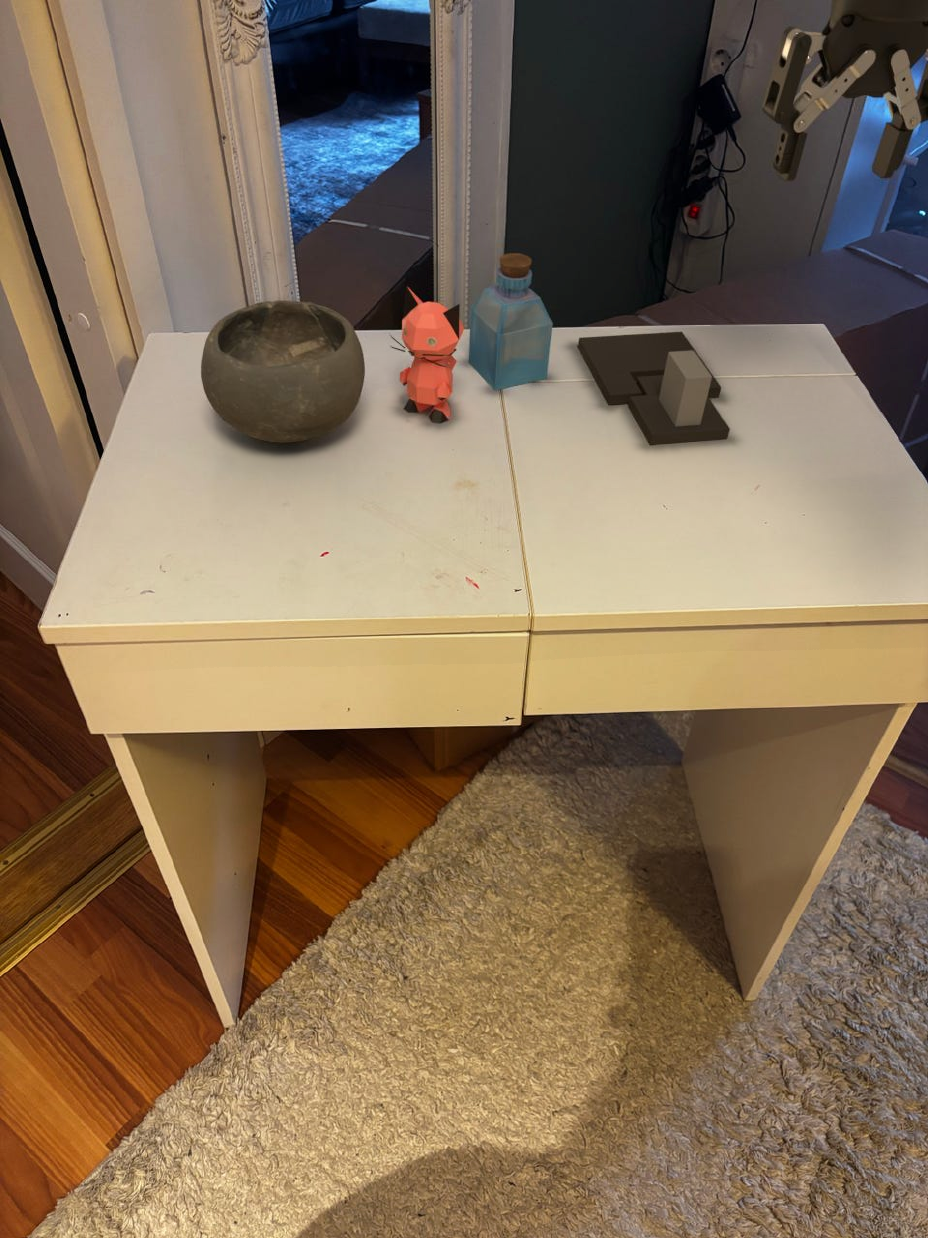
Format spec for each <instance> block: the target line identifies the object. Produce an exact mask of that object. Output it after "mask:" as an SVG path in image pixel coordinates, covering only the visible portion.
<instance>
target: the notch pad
mask: <svg viewBox="0 0 928 1238" xmlns="http://www.w3.org/2000/svg"><path fill="white" fill-rule="evenodd" d="M577 349H578V350H579V352H580V354H581V356H582V358H583V360H584V361H585V363H586V364H585V365H587V367H588V369H589V372H590V373H591V375H592V376H593V379H594V381H595V382H596V384H597V386H598V388H599V389H600V391H601V394H602V395H603V397H604V399H605V401H606V403H607V404H608V406H616V405H629V400H630V396H641V395H642V392H641V391H640V389H639V387H638V385H637V384H636V380H637V377H643V376H658V375H664V372H665V367H666V362H667V357H668V352H677V351H694V352H695V353H696V355H697V356H698V357H699V359H700V360H701V362H702V363H703V365H704V366H705V367H706V369H707V370H708V372H709V373H710V374H711V376H712V379H711V383H710V387H709V391H708V395H707V396H708V397H709V399H712V398H713V399H714V398H715V399H716V398H720V394H721V391H722V386H721V385H720V383H719V382H718V380H717V379H716V377H715V376H714V374H713V373H712V372H711V370H710V369H709V367H708V366H707V364H705V362H704V360H703V359H702V358H701V357H700V355H699V354H698V353H697V351H696V350H695V348H694V347H693V345H692V344H691V342H690V341H689V340H688V338H687V336H686V334H684V332H683V331H668V332H650V333H636V334H634V333H633V334H619V335H618V334H617V335H599V336H585V337H584V336H583V337H579V338H578V345H577Z"/></svg>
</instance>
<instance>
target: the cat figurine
mask: <svg viewBox="0 0 928 1238" xmlns="http://www.w3.org/2000/svg"><path fill="white" fill-rule="evenodd" d="M403 302H404V304H403V311H402V312H403V313H402V321H401V325H402V326H401V339H402V342H403V344H404V345H403V344H402V343H400V342H399V341H398V340H397V339H396V338H395V337H393V336H392V335H391V334H390V333H389V332H388V334H389V336H390V338H391V339H392V340H393V341H394V342H396V343H397V344H399V346H401V347H402V348H403V349H401V348H398V347H395V346H391V345H390V344H388V346H389V347H390V348H391V349H394V350H397V351H400V352H404V353H406V350H405V349H406V348H407V350H408V351H407V352H408V353H409V355H410V356H411V357H413V360H412V364H411V365H410V366H408V367H405V368H404V369H403V370H401V371H400V372H399V378H398V379H399V381H400V383H401V384H402V385H403V387H405V386H406V395H407V396H408V397H409V398H408V400H407V402H406V404H405V405H404V406H403V410H404V411H405V412H407V413H420V412H423V411H425V410H427V409H429V408H431V407H432V406H433V408H432V410H431V412H430V413H429V415H428V418H429V419H430V421H431V423H435V424H442V423H445V422H448V421H449V420H450V416H451V408H450V406H449V403H448V400H449V398H450V396H451V395H452V393H453V385H454V384H453V383H454V381H453V379H454V374H453V370H454V368H455V366H456V364H457V362H458V360H457V359H456V358H455V357H454V356H453V355H454V353H455V352H457V350H458V349H457V346H458V344H459V342H460V340H461V337H462V335H463V333H464V331H465V326H464V324H463V321H462V320H461V317H460V308H461V307H460V305H461V304H460V303H458V304H455V306H453V307H451V308H448V307H446V306H444V305H442V304H441V303H439V302H435V301H426V302H423V301H422V300H421V299H420V298H419V297H418V296H417V295H416V294H415V293H414V292H413V291H412V289H410V287H408V285H406V286H405V295H404V301H403Z"/></svg>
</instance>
